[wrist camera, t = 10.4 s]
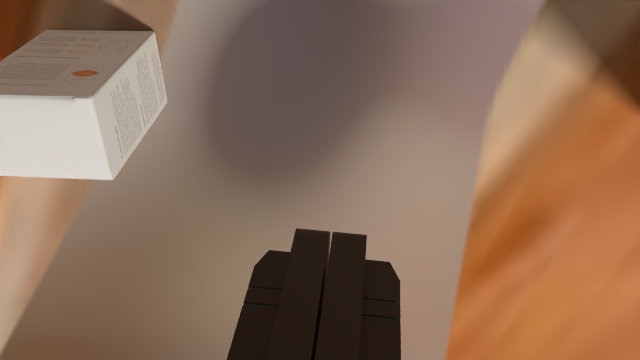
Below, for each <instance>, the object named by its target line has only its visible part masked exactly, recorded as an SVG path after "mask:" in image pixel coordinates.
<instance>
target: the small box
mask: <svg viewBox="0 0 640 360" xmlns="http://www.w3.org/2000/svg"><path fill="white" fill-rule="evenodd" d="M166 103H167V96H166V91H165V85H164V79H163V74H162V68H161V63H160V57H159V52H158V47H157V42H156V36H155V32H154V31H103V30H45V31H43V32H42V33H41V34H39V35H38V36H36V37H35V38H33V39H32V40H30V41H29V42H27V43H26V44H25V45H23V46H22V47H20V48H19V49H18V50H16V51H15V52H13V53H12V54H10V55H9V56H7V57H6V58H5V59H3V60H2V61H0V176H10V177H39V178H68V179H93V180H113V179H114V178H115V177H116V175H117V174H118V172H119V171H120V170H121V168H122V167H123V165H124V164H125V162H126V161H127V159H128V158H129V156H130V155H131V153H132V152H133V151H134V149H135V148H136V147H137V145H138V144H139V142H140V141H141V139H142V138H143V136H144V135H145V133H146V132H147V130H148V129H149V128H150V126H151V125H152V123H153V122H154V121H155V119H156V118H157V116H158V115H159V113H160V112H161V110H162V109H163V108H164V106H165V105H166Z"/></svg>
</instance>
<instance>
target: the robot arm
mask: <svg viewBox="0 0 640 360" xmlns="http://www.w3.org/2000/svg"><path fill="white" fill-rule="evenodd" d="M366 239H367V236H366V235H360V234H350V233H340V232H333V234H332V241H331V248H330V255H329V247H330V232H328V231H317V230H308V229H296V231H295V235H294V239H293V244H292V248H291V252H283V251H273V250H269V251H268V252H267V253H266V254H265V255H264V256H263V258H261V260H260V261H259V262H258V263H257V264H256V265H255V266H254V269H253V273H252V276H251V279H250V283H249V288H248V290H247V293H246V297H245V300H244V305H243V306H242V310H241V313H240V317H239V320H238V323H237V327H236V330H235V333H234V337H233V340H232V344H231V348H230V350H229V354H228V357H227V360H401V338H400V337H401V333H400V280H399V278H398V276H397V275H396V273H395V271H394V269H393V267H392V265H391V264H390V262H384V261H374V260H365V255H366Z"/></svg>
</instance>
